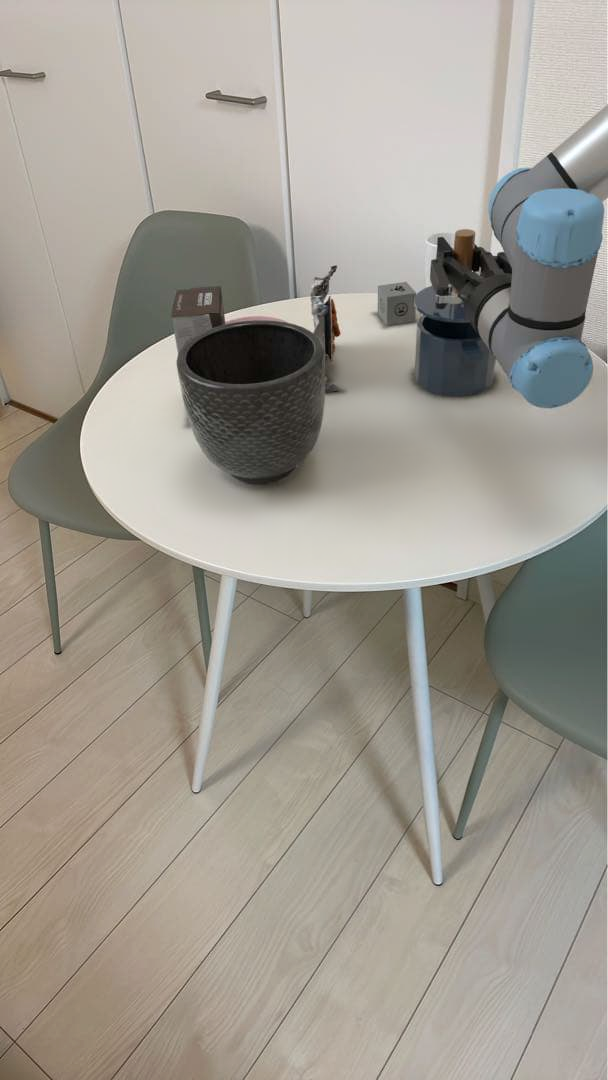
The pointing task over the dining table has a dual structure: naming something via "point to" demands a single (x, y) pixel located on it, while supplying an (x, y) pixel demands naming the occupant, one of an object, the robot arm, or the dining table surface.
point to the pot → (452, 358)
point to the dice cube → (396, 303)
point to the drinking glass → (434, 252)
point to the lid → (427, 296)
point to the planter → (254, 396)
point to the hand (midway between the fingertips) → (451, 245)
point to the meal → (325, 318)
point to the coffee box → (196, 312)
